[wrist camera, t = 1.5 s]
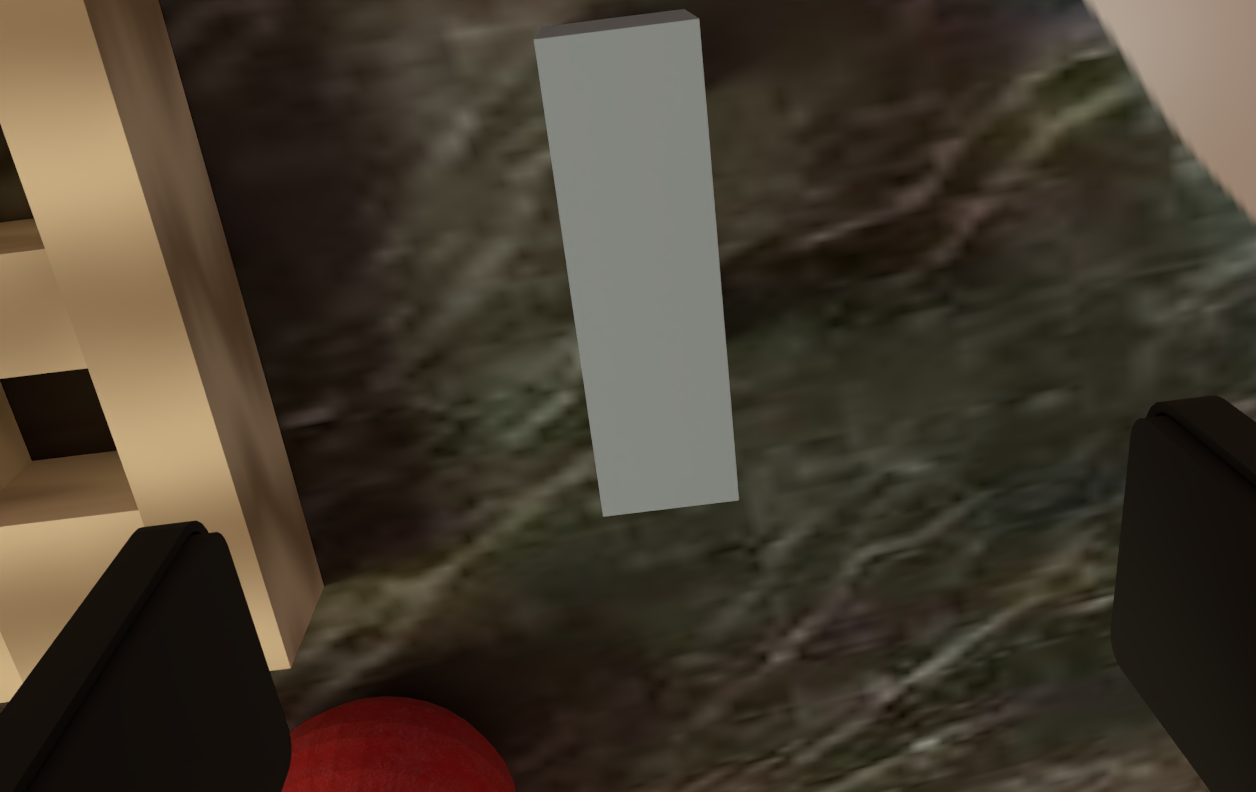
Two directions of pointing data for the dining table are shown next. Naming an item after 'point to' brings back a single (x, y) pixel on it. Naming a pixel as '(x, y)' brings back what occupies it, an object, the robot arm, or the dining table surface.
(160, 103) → the slotted wooden base
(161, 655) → the robot arm
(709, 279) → the clip
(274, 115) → the dining table surface
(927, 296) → the dining table surface
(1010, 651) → the dining table surface
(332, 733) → the tomato
